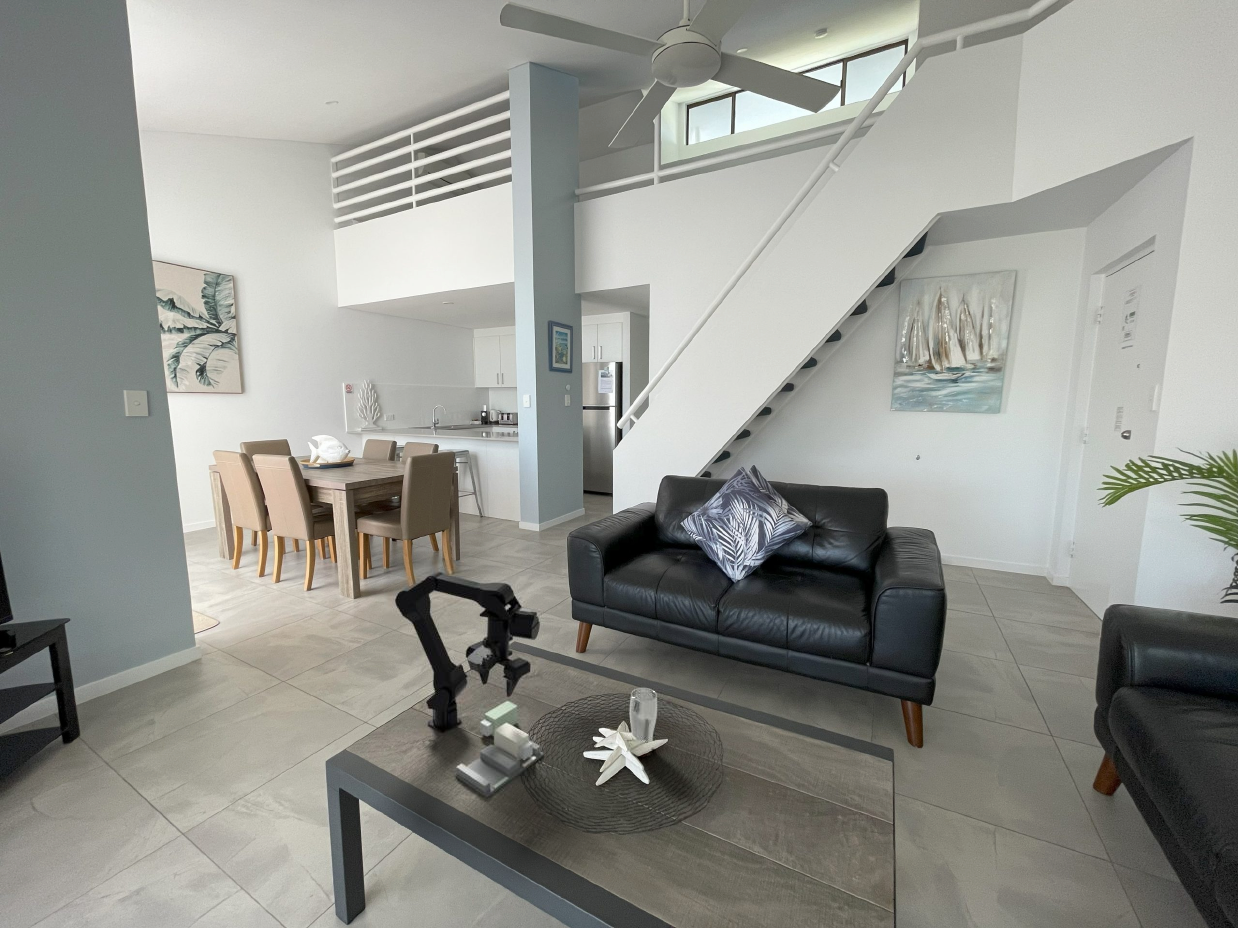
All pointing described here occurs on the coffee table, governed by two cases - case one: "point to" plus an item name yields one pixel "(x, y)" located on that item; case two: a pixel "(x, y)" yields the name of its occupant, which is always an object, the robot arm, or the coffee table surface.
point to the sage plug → (499, 718)
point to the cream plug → (513, 741)
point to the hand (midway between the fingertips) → (496, 690)
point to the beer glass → (643, 713)
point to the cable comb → (494, 769)
